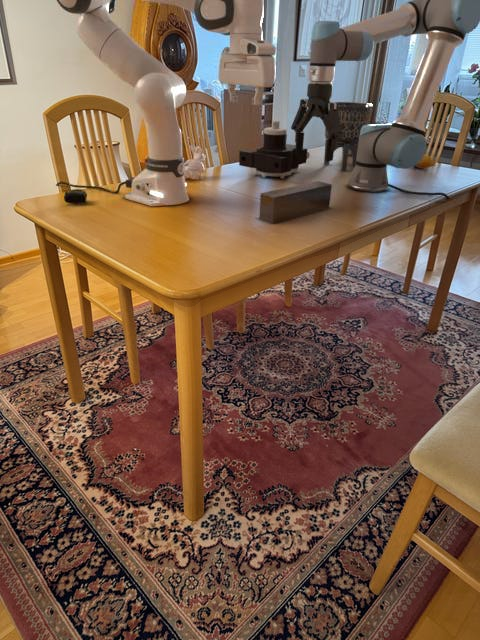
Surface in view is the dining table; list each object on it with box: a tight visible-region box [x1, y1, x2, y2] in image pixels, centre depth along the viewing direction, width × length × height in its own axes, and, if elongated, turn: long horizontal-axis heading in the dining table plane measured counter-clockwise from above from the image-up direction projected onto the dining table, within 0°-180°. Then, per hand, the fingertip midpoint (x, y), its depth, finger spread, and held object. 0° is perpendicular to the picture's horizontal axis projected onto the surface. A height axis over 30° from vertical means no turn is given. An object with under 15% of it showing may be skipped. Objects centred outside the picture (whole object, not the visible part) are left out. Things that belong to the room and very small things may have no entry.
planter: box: [323, 101, 374, 172], centre depth 204 cm, size 20×20×26 cm
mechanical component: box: [238, 120, 311, 179], centre depth 191 cm, size 22×21×30 cm
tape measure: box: [63, 188, 88, 205], centre depth 151 cm, size 7×7×4 cm
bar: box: [259, 180, 333, 224], centre depth 145 cm, size 27×6×8 cm, turn 131°
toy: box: [414, 153, 437, 169], centre depth 213 cm, size 11×6×15 cm
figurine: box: [184, 144, 206, 180], centre depth 182 cm, size 8×15×13 cm, turn 145°
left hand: (244, 103), depth 130 cm, fingers open, 8 cm apart
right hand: (313, 157), depth 146 cm, fingers open, 13 cm apart
